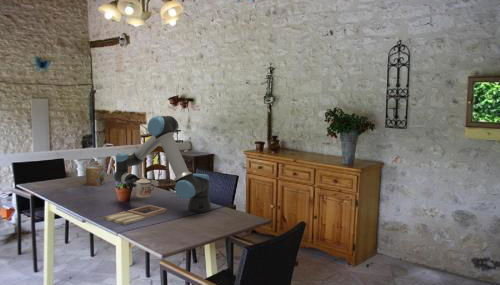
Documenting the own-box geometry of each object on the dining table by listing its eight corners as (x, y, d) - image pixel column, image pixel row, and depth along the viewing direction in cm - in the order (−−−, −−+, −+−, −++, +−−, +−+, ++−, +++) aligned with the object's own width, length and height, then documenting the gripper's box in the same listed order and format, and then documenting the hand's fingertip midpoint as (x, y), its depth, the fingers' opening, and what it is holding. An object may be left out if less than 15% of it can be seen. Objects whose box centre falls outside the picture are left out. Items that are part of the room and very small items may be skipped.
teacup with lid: (140, 198, 248) (140, 179, 246) (133, 195, 254) (133, 176, 253) (158, 195, 256) (158, 177, 254) (150, 193, 262) (150, 174, 261)
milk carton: (99, 186, 328) (99, 162, 326) (86, 185, 328) (85, 161, 326) (104, 183, 338) (104, 160, 336) (91, 183, 338) (91, 159, 336)
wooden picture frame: (166, 211, 260) (166, 208, 260) (144, 218, 245) (144, 214, 245) (149, 207, 268) (149, 204, 268) (127, 213, 253) (127, 210, 253)
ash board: (145, 219, 243) (145, 216, 243) (124, 225, 231) (124, 222, 231) (124, 213, 253) (124, 211, 253) (103, 219, 241) (103, 216, 240)
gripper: (146, 183, 276) (165, 188, 261) (112, 187, 258) (131, 194, 243) (146, 171, 275) (165, 176, 260) (112, 175, 257) (131, 181, 243)
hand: (149, 185), depth 252 cm, fingers closed on teacup with lid, 12 cm apart
